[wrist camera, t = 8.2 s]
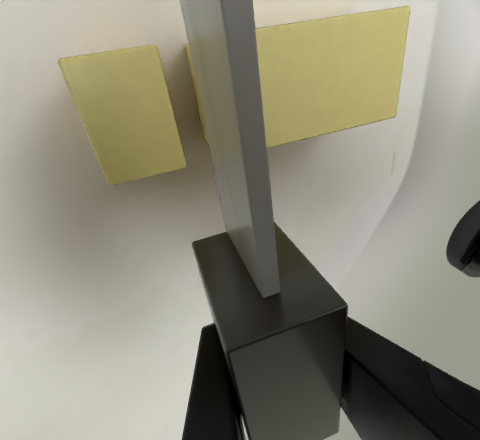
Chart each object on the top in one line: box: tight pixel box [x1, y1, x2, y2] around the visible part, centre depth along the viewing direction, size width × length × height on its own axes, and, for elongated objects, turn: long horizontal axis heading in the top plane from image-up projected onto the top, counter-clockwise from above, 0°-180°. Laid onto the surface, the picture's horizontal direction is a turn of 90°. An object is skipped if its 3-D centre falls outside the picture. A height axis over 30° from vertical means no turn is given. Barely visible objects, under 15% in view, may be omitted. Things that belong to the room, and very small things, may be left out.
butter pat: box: [58, 44, 186, 186], centre depth 9 cm, size 2×4×3 cm
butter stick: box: [186, 6, 410, 148], centre depth 11 cm, size 7×4×3 cm, turn 99°
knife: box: [180, 0, 348, 440], centre depth 6 cm, size 2×11×4 cm, turn 9°
